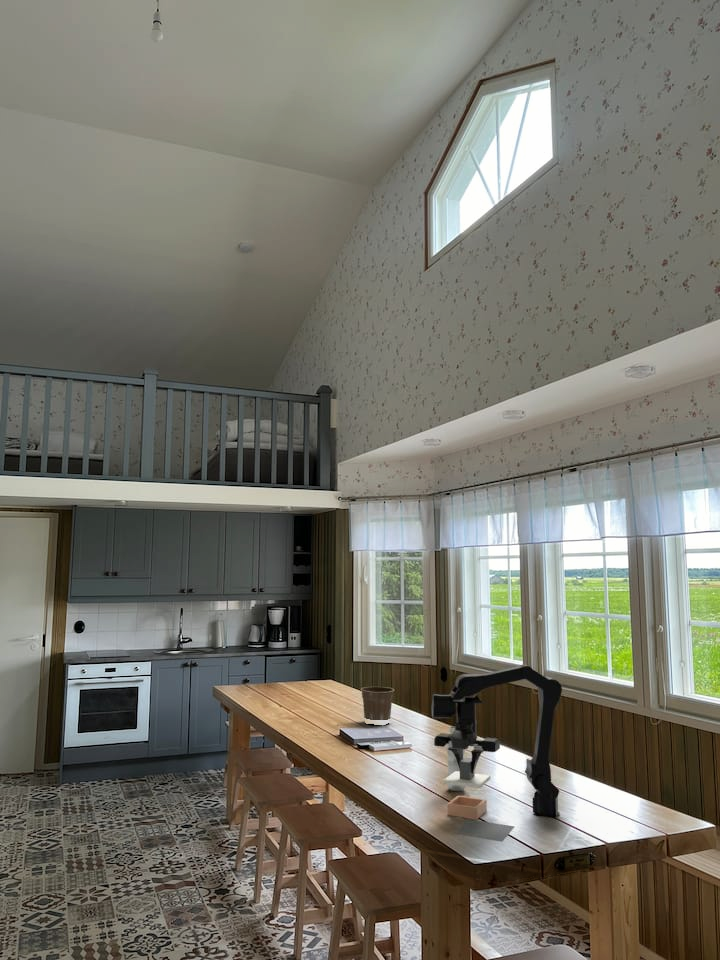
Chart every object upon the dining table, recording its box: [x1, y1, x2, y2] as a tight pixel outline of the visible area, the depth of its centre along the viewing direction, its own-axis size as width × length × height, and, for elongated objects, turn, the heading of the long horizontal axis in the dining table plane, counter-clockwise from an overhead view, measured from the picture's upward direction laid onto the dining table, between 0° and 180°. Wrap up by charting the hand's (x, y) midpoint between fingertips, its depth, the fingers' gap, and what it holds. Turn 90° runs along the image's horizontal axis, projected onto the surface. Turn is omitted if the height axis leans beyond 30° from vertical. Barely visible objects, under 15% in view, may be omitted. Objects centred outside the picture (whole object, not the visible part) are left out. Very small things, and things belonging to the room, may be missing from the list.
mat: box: [454, 818, 515, 842], centre depth 199 cm, size 13×13×1 cm
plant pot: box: [360, 686, 395, 720], centre depth 347 cm, size 16×16×16 cm
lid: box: [443, 757, 491, 789], centre depth 215 cm, size 11×11×6 cm
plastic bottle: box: [445, 725, 466, 792], centre depth 239 cm, size 6×7×20 cm
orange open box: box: [447, 795, 488, 820], centre depth 213 cm, size 9×9×4 cm
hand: (467, 772), depth 215 cm, fingers closed on lid, 3 cm apart
